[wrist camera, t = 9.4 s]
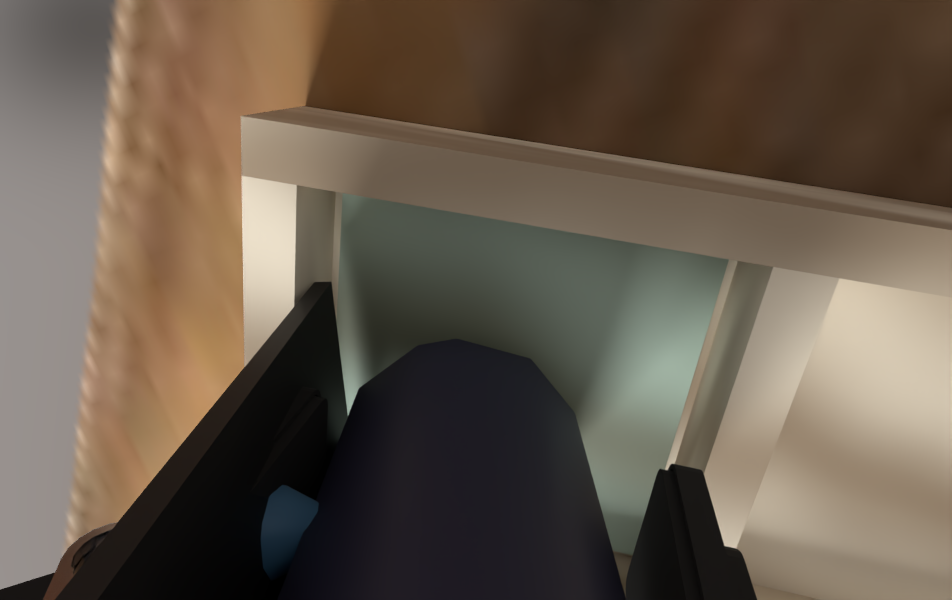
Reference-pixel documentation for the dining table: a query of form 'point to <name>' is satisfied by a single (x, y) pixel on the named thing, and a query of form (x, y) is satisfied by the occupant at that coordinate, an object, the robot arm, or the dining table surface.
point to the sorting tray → (646, 325)
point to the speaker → (370, 487)
